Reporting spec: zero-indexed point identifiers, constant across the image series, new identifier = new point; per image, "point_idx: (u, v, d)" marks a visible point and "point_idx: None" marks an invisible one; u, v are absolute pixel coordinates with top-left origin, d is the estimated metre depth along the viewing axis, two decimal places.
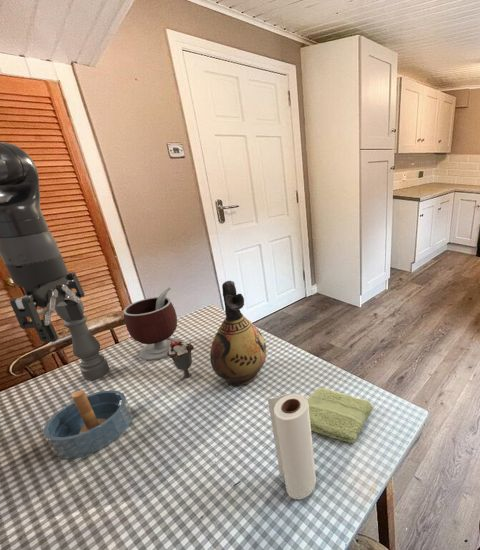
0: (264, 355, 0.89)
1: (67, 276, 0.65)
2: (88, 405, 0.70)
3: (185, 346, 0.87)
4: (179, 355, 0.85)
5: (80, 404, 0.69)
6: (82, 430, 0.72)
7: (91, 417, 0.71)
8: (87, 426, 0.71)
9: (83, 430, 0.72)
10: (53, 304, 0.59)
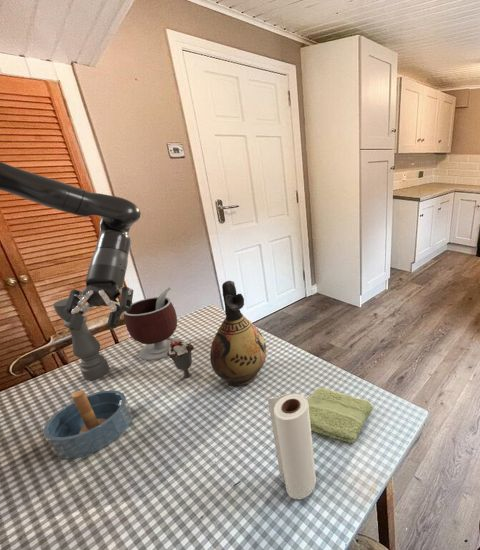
0: (264, 355, 0.89)
1: None
2: (88, 405, 0.70)
3: (185, 346, 0.87)
4: (179, 355, 0.85)
5: (80, 404, 0.69)
6: (82, 430, 0.72)
7: (91, 417, 0.71)
8: (87, 426, 0.71)
9: (83, 430, 0.72)
10: None
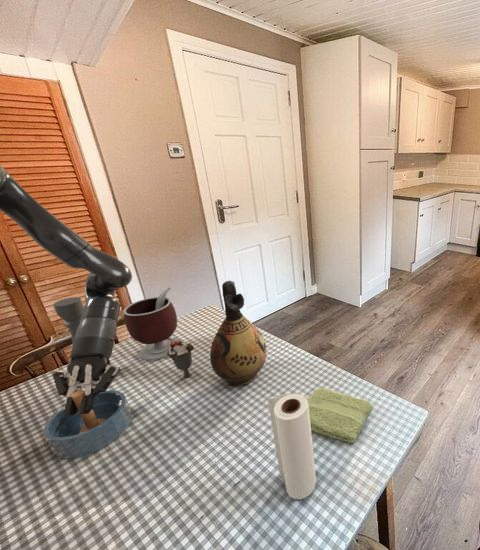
0: (264, 355, 0.89)
1: None
2: None
3: (185, 346, 0.87)
4: (179, 355, 0.85)
5: (80, 404, 0.69)
6: (82, 430, 0.72)
7: (91, 417, 0.71)
8: (87, 426, 0.71)
9: (83, 430, 0.72)
10: None
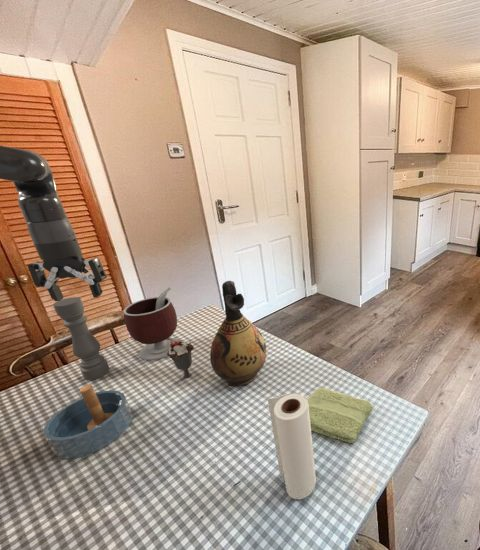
0: (264, 355, 0.89)
1: None
2: (96, 400, 0.72)
3: (185, 346, 0.87)
4: (179, 355, 0.85)
5: (88, 398, 0.71)
6: (90, 423, 0.74)
7: (98, 412, 0.73)
8: (95, 419, 0.73)
9: (91, 423, 0.74)
10: None
